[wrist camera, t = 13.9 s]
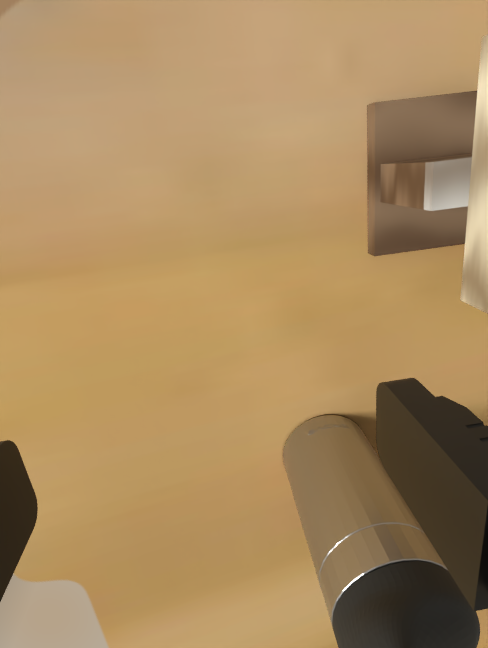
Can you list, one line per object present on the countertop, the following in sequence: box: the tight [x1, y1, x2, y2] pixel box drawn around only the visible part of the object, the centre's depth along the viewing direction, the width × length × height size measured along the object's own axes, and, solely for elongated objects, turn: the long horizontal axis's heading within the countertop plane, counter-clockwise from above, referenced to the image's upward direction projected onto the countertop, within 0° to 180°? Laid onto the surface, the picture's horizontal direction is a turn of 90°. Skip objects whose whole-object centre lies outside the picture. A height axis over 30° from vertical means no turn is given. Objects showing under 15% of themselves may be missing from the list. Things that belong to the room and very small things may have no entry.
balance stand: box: [367, 91, 477, 256], centre depth 31 cm, size 12×10×10 cm
